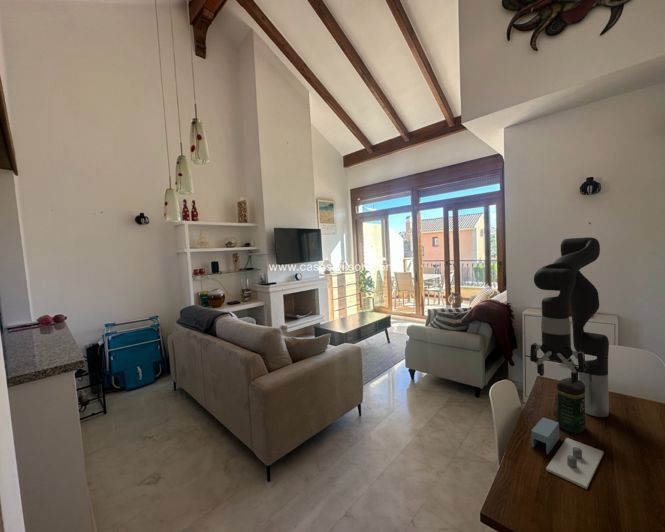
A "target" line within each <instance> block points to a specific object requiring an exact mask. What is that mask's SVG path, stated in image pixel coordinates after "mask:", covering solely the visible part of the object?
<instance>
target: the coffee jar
mask: <svg viewBox="0 0 665 532" xmlns="http://www.w3.org/2000/svg"><path fill="white" fill-rule="evenodd" d="M556 395H557V396H556V397H557V398H556V399H557V400H556V401H557V402H556V406H557V407H556V409H557V410H556V422H558V423H559V429H562V430H563V431H566V432H568V433H573V434H581V433H583V432H584V431H585V429H586V426H587V425H586V413H585V385H584V383H582V381H580V380H579V379H578V382H577V383H575V384H572V383H571V377H565V378H563V379H561V380H559V381H557V382H556Z"/></svg>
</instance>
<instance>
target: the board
mask: <svg viewBox="0 0 665 532" xmlns="http://www.w3.org/2000/svg"><path fill="white" fill-rule="evenodd" d="M604 453H605V451H603V450H601V449H599V448H595V447H593V446H590V445H587V444H585V443H582V442H580V441H577V440H573V439H571V438H569V437H566V438H565V439H564V442H563V443H562V444H561V446H560V447H559V449H558V450H557V452H556V453H555V454H554V456H553V457H552V458H551V460H550V462H549V463H548V465H547V466H546V467H545V470H546V472H549V473H551V474H553V475H555V476H557V477H559V478H562V479H564V480H565V481H568V482H570V483H572V484H575V485H576V486H579V487H581V488H583V489H585V490H587V489H588V487H589V485H590V484H591V481H592V479H593V477H594V475H595V473H596V471H597V469H598V467H599V464H600V462H601V460H602V458H603V456H604Z"/></svg>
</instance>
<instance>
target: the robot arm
mask: <svg viewBox="0 0 665 532" xmlns="http://www.w3.org/2000/svg"><path fill="white" fill-rule="evenodd" d="M600 245H601V244H600V242H599V239H596V238H595V237H590V236H589V237H573V238H572V237H570V238H565V239H563V240H562V241H561V244H560V255H561V256H560V257H558V258H557V259H556V260H555V261H554V262H553V263H550V264H547V265H545V266H542V267H540V268H538V269H537V271H536V272H535V273H534V275H533V282H534V283H533V284H534V285H535V287H536V288H538V289H540V290H542V291H555V292H556V291H557V292H559V294H558V295H557V296H548V297H544V298H542V300H541V322H540V324H541V325H540V329H541V345H540V344H537V343H536V342H534V343H532V344H531V345H530V354H529V355H530V356H529V357H530V358H529V360H530V362H532V363H533V362H534V363H535V364H536V369H537V370H536V372H537V374H539V376H540V377H543V376H544V375H545V366H544V365H545V364H544V362H545V361H546V360H547V359H548V360H549V361H550V362H551V361H552V362H557V363H559V364H562V363H563V364H564V365H565V366H566V367H568V369H569V370H570V371H571V372H570V378H571V383H572V384H575V383H577V382H578V380H580V381H582V383H584V385H585V415H586V414H587V415H589V416H593V417H597V418H606V417H608V416H609V415H610V412H609V411H610V408H609V406H610V405H609V403H610V402H609V399H610V398H609V396H610V395H609V352H610V351H609V349H610V341H609V338H608V336H607V335H605V334H601V333H594V332H586V331H585V330H584V328H585V326H586V324H587V323H588V321H590V320H591V318H593V316H594V315H595V314H596V313H597V312H598V310H599V308H600V299H599V298H600V297H599V291H598V289H597V287H596V286H595V285H594V284H593V283H592V282H591V281H590V279H588V278H587V277H585V275H584V274H583V273H582V272H581V271H580V270H582V268H584V267H586V266H588V265H590V264H591V263H594V262H595V261H596V260H598V258H599V257H600V252H601V246H600ZM570 314H571V320H570ZM571 322H572V331H571ZM571 332H572V333H571ZM571 334H572V335H571ZM572 339H573V342H572V341H571V340H572ZM572 343H573V348H574V350H575V351H573V349H572ZM539 350H540V351H541V352H542V353H543V355H542V356H541V357H540V358H538V351H539ZM587 355H588V356H592V357H596V358H595V359H588V360H586V357H585V356H587ZM573 356H574V358H575V359H576V360H577V363H578V366H577V365H576V363H575V361H574V360H573V359H572V358H571V357H573Z"/></svg>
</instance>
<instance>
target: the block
mask: <svg viewBox="0 0 665 532" xmlns="http://www.w3.org/2000/svg"><path fill="white" fill-rule="evenodd" d="M530 438H531V439H530V440H531V448H535V447H536V445H537V444H538V443H539V442H541V443H544V444H545V451H546V452H545V454H547V455H549V454H550V452H551V451H552V450H553V448H554V447H555V446H556V444H557V442H558V441H559V439H560V427H559V423H558V422H557V421H555V420H551V419H549V418H546V417H542V418H540V420H539V421H538V422H537V423H536V425H534V427H533V428H532V429H531V431H530Z"/></svg>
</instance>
